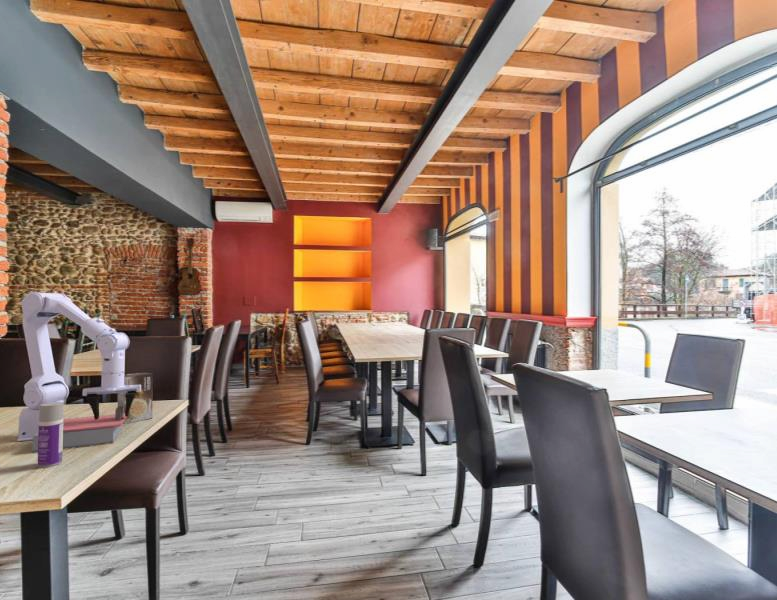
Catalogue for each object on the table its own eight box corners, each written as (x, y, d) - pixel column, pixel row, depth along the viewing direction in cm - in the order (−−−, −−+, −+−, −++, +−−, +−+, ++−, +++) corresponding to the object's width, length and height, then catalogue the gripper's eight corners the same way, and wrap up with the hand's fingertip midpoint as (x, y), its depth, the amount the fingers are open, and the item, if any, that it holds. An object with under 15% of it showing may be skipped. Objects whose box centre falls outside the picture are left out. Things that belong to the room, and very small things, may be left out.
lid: (41, 434, 106) (42, 419, 106) (58, 421, 119) (59, 408, 119) (120, 426, 114) (121, 412, 114) (128, 414, 126) (129, 402, 127)
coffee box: (145, 415, 143) (146, 371, 143) (152, 418, 139) (153, 373, 139) (116, 421, 135) (117, 375, 136) (123, 424, 132) (124, 376, 132)
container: (34, 469, 94) (36, 406, 95) (40, 462, 98) (42, 402, 99) (59, 465, 96) (61, 404, 97) (64, 459, 100) (66, 400, 101)
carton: (32, 452, 105) (33, 435, 105) (50, 437, 118) (51, 422, 118) (112, 443, 113) (113, 427, 113) (121, 429, 125) (122, 415, 126)
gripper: (80, 376, 112) (78, 423, 112) (139, 372, 119) (138, 417, 118) (86, 372, 119) (85, 417, 118) (142, 369, 125) (141, 412, 125)
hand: (112, 417), depth 119 cm, fingers open, 7 cm apart
